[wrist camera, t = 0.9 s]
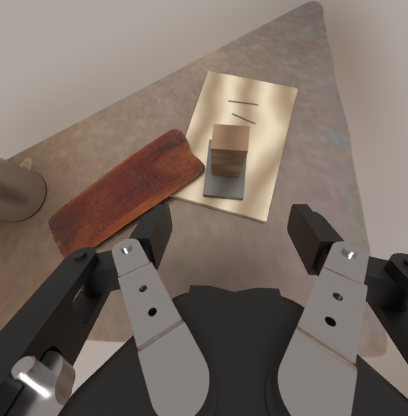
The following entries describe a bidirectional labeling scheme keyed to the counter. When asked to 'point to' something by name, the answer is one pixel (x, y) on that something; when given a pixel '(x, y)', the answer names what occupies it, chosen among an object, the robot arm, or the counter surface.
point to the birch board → (258, 138)
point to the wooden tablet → (126, 192)
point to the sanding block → (226, 162)
